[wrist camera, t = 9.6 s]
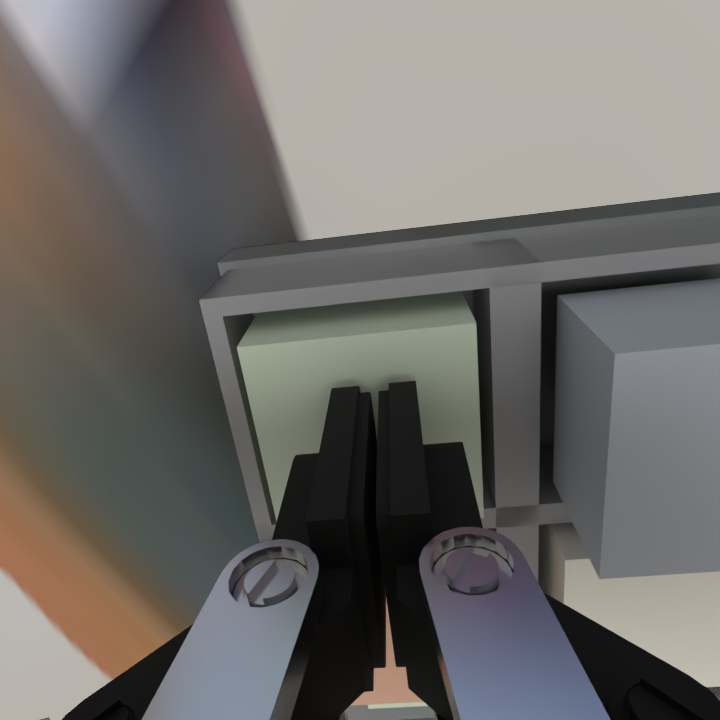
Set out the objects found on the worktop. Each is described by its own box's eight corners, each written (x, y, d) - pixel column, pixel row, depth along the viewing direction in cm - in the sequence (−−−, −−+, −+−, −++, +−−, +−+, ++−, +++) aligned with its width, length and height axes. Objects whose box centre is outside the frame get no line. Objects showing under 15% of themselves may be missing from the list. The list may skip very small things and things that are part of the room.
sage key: (455, 279, 13) (476, 323, 10) (464, 443, 15) (483, 517, 12) (265, 299, 13) (236, 347, 11) (297, 458, 15) (279, 533, 13)
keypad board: (749, 188, 14) (875, 214, 10) (674, 665, 20) (735, 779, 17) (232, 249, 15) (187, 291, 11) (326, 683, 21) (316, 794, 18)
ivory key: (704, 466, 15) (776, 546, 12) (685, 592, 17) (744, 685, 14) (532, 480, 15) (565, 560, 13) (531, 601, 17) (560, 694, 14)
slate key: (796, 270, 11) (937, 323, 8) (757, 465, 13) (861, 562, 10) (557, 295, 11) (614, 354, 8) (552, 481, 13) (599, 579, 10)
